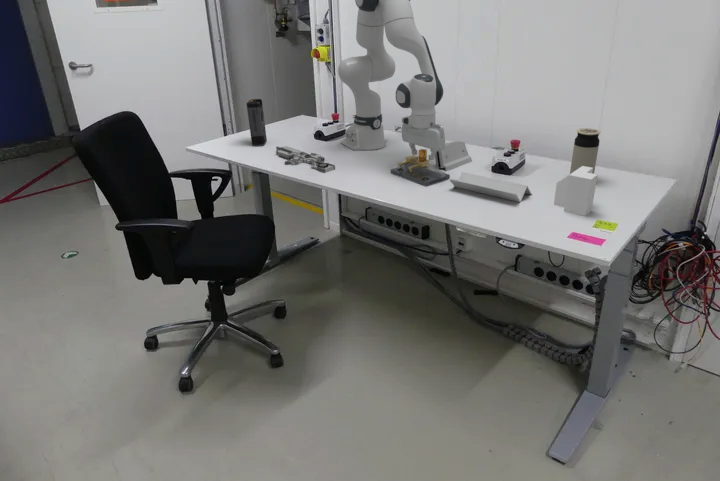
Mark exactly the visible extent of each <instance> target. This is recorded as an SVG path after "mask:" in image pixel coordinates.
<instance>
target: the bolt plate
mask: <svg viewBox="0 0 720 481" xmlns="http://www.w3.org/2000/svg"><path fill="white" fill-rule="evenodd" d="M417 160H419V155H418V156H417V155H412V154H411V155H409V156H406V157H405V160H403V161H401V162H398V163H397V165H398V167H394V168H391V169H390V170H389V171H390V174H392V175H394V176H397V177H401V178H402V179H405V180H407V181H410V182H414V183H415V184H419V185H420V186H424V187H429V186H432V185H434V184H438V183H441V182H443V181H446V180H449V178H451V175H450V174H449V173H446V171H445V172H444V171H441V170H438V169H437V168H432V167H429V166H425V167H422V168H421V167H419V168H416V169H413V170H412V173H410V169H408V167H410V166H413V165H416V161H417Z"/></svg>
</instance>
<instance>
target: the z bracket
mask: <svg viewBox="0 0 720 481" xmlns="http://www.w3.org/2000/svg"><path fill="white" fill-rule="evenodd" d="M448 180H449V182H451V184H452V185H453V187H455V188H458V189H463V190H467V191H471V192H475V193H480V194H483V195H488V196H493V197H497V198H500V199H505V200H509V201H513V202H518V203H521V202H522V200H523V198H524V196H525V194H527V195H530V196H531V195H532V192H531V190H530V188H529V186H528V185H526V184H520V183H515V182H513V181H512V182H511V181H507V180H501V179H498V178H497V179H496V178H492V177H488V176H484V175H479V174H474V173H470V172H466V171H461V173H460V175H459V177H458V179H455V178H451V177H450V178H449V179H448Z"/></svg>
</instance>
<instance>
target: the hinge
mask: <svg viewBox="0 0 720 481" xmlns="http://www.w3.org/2000/svg"><path fill="white" fill-rule="evenodd" d="M468 152H469V151H468V149H467V145H466V143H465V142H464V141H458V140H457V141H449V142H445V148H444V149H443V150H440V151H437V153H436V154H435V159H434V161H435V166H436V170H438V169H444V170H445V172H448V171H451V170H454V169H457V168H459V167H461V166H463V165H466V164H470V163H472V162H473V158H472V157H471V156H470V155H469V153H468Z"/></svg>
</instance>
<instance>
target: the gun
mask: <svg viewBox="0 0 720 481" xmlns="http://www.w3.org/2000/svg"><path fill="white" fill-rule="evenodd" d="M275 149H276V151H275V153H276V154H275V155H277V156H279V157H280V158H284V159H286V160H285V161H284V165H286V166H289V165H291V166H298V165H301V164H302V163H304V164H306V163H307V164H310V165H311V168H312V169H314V170H315V169H316V170H317V171H318V172H320V173H323V174H327V173H329V172H332V171H334V170H336V164H333V163H330V162H324V161H325V160H326V158H325V156H322V155H321V154H317V152H316V153H314V152H310V153H308V152H305V151H302V150H300V149H297V148H294V147H291V146H288V145H284V146H275Z"/></svg>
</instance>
